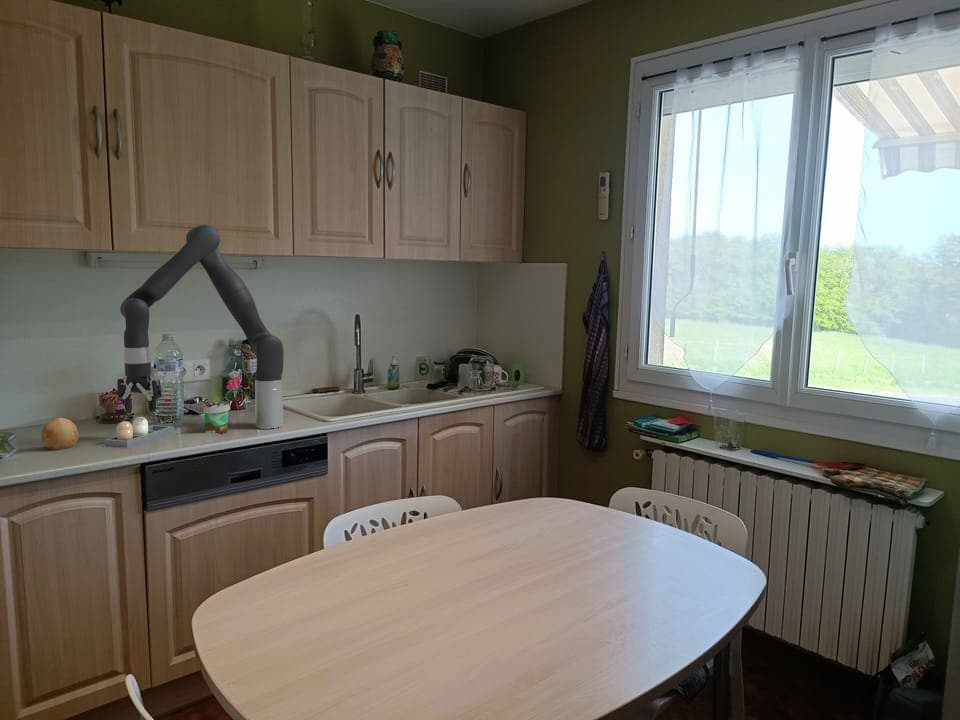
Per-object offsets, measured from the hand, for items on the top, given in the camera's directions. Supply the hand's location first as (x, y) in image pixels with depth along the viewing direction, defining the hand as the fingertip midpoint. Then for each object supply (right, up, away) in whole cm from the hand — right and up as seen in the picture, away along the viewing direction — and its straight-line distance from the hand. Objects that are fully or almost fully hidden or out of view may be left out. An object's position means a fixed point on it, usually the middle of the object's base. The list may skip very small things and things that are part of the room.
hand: (140, 411), depth 214 cm
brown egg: (-2, -10, -6) cm, 11 cm away
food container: (+20, -9, +15) cm, 27 cm away
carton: (0, -10, +1) cm, 10 cm away
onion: (-18, -11, -11) cm, 24 cm away
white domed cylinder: (0, -9, +1) cm, 9 cm away
